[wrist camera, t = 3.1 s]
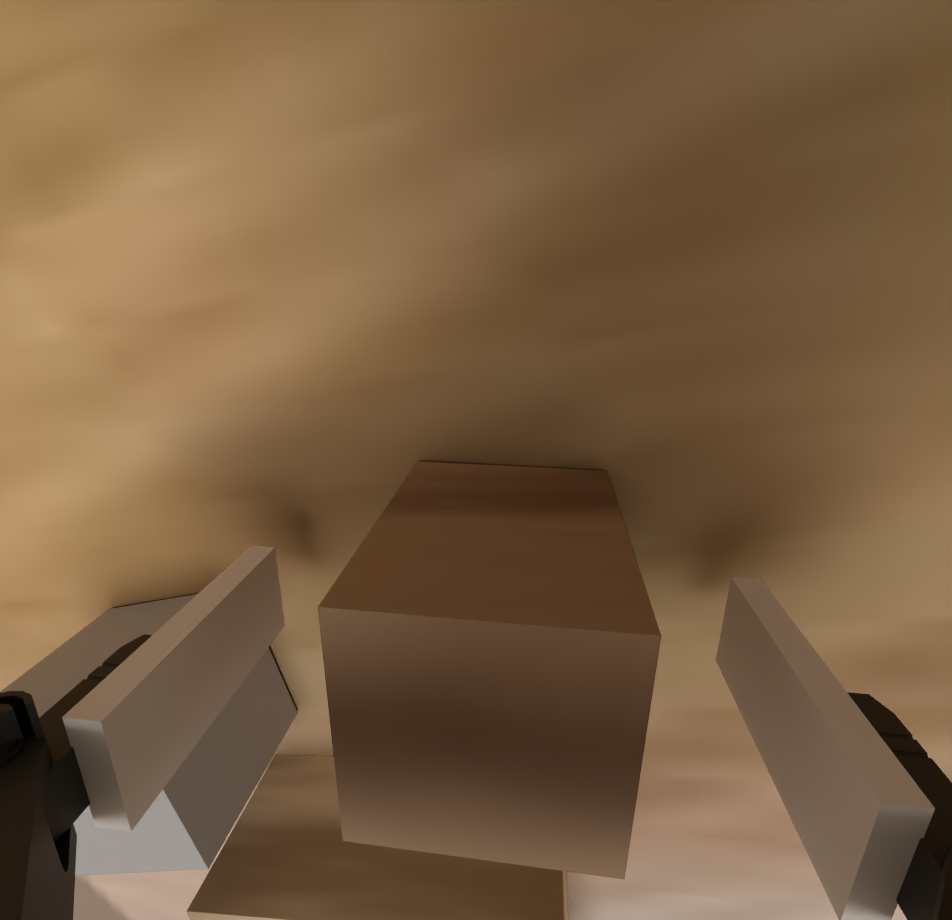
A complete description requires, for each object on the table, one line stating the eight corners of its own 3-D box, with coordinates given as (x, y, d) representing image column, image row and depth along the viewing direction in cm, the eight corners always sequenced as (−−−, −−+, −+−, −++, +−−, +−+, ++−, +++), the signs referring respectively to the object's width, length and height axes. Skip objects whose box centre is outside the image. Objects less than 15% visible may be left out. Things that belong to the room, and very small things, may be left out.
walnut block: (417, 461, 17) (317, 607, 9) (607, 470, 16) (661, 635, 9) (422, 617, 19) (342, 841, 11) (591, 631, 18) (624, 879, 11)
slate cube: (109, 608, 21) (-54, 732, 15) (241, 586, 20) (118, 711, 14) (172, 726, 22) (47, 877, 17) (297, 712, 21) (208, 869, 16)
